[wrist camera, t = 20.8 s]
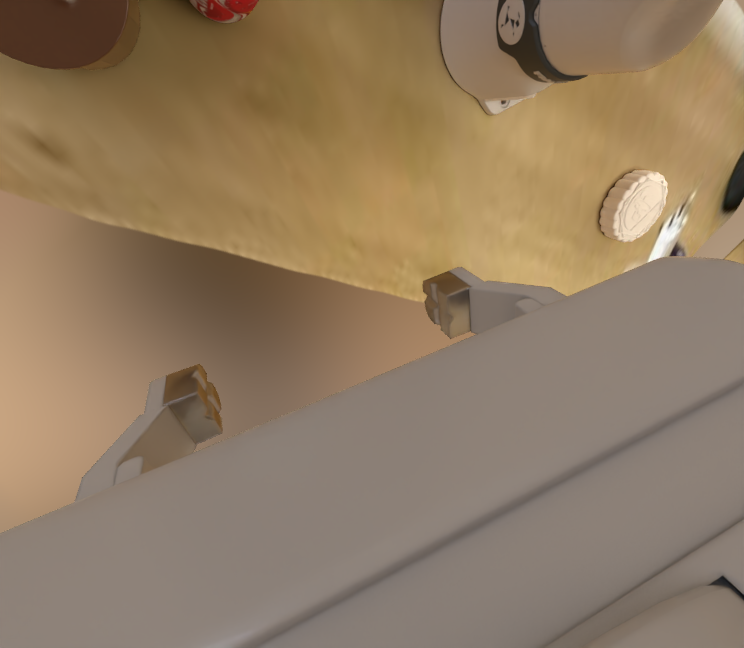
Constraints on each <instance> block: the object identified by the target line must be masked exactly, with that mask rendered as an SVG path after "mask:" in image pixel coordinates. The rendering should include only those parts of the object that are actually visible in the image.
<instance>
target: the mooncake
mask: <svg viewBox="0 0 744 648" xmlns="http://www.w3.org/2000/svg"><path fill="white" fill-rule="evenodd" d="M666 188H667V182H666V181H665V178H664V176H663V175H660V174H659V173H658V172H653V171H647V170H634V171H633V172H632V173H628V174H626V175H625V176H624V177H623V179H620V180H618V181H617V182H616V184H615V187H613V188H612V189H611V190H610V191H609V193H608V197H607V198H606V199H605V200H604V202H603V208H602V209H601V211H600V215H601V218H600V220H599V223H600V225H601V231H602V232H604V235H605V236H607V237H610V238H612V239H615V240H618V241H621V242H627V241H629V242H631V241H633V240H635V238H640V237H641V236H642V235H643V234H644V233H646V232H647V231H648V230H649V229H650V227H651V225H653V224H654V223H655V222H656V220H657V218H658V217H659V216H660V214H661V212H662V209H663V207H664V206H665V203H666V198H665V197H666V196H667V193H668V190H667V189H666Z"/></svg>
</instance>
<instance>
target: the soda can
mask: <svg viewBox="0 0 744 648" xmlns="http://www.w3.org/2000/svg"><path fill="white" fill-rule="evenodd" d="M189 1H190V2H191V3H192V5H193V6H194V7H195V8H196V9H197V10H198V11H199V12H200V13H202V14H203V15H204V16H206V17H207V18H209V19H211V20H214V21H216V22H220V23H233V22H236V21H239V20H241V19H243V18H245V17H246V16H247V15H248V14H250V12H251V11H252V10H253V8H254V7H255V6H256V4H257V2H258V1H259V0H189Z"/></svg>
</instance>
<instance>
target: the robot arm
mask: <svg viewBox="0 0 744 648" xmlns="http://www.w3.org/2000/svg"><path fill="white" fill-rule="evenodd" d="M722 1H723V0H444V4H443V9H442V15H441V26H440V35H441V46H442V52H443V56H444V60H445V63H446V66H447V68H448V70H449V72H450V74H451V76H452V77H453V79H454V80H455V82H456V83H457V84H458V85H459V86H460V87H461V88H462V89H463V90H465V91H466V92H468V93H469V94H471V95H473V96H474V97H476V98H477V99H478V101H479V103H480V104H481V106H482V108H483V109H484V111H485V112H486V113H487V114H489V115H496V114H499V113H501V112H503V111H504V110H506V109H508V108H510V107H512V106H514V105H515V104H517V103H519V102H521V101H523V100H525V99H529V98H533V97H535V95H536V93H538V92H540V91H542V90H544V89H546V88H547V87H549V86H551V85H552V84H554V83H566V82H568V81H574V80H579V79H581V78H584V77H586V76H588V75H595V74H611V73H627V72H640V71H645V70H648V69H650V68H653V67H655V66H657V65H660V64H662V63H664V62H666V61H667V60H669V59H671V58H672V57H674V56H675V55H677V54H678V53H680V52H681V51H682V50H683V49H685V48H686V47H687V46H688V45H689V44H690V43H691V42H692V41H693V40H694V39H695V38H696V37H697V36H698V35H699V34H700V33H701V31H702V30H703V29H704V27H705V26H706V25H707V24H708V22H709V21H710V19H711V18H712V17H713V15H714V14H715V12H716V11H717V9H718V8H719V6H720V4H721V3H722ZM502 100H503V102H502V103H501V101H502ZM423 292H424V293H425V294H427V295H428V296H427V298H426V300H425V307H426V311H427V314H428V316H429V318H430V319H431V321H432V322H433V323H434V324H437V325H440V326H441V330H442V331H443V332H444V333H445V334H446V335H447V336H448V337H449V338H450V339H451V338H454V337H457V336H459V335H462V334H465V333H467V332H470V331H471V332H472V333H475V334H476V335H474V336H472V337H469V338H467V339H464V340H462V341H460V342H457V343H455V344H452V345H450V346H448V347H445V348H443V349H440V350H438V351H436V352H433V353H431V354H428V355H426V356H424V357H421V358H419V359H416V360H414V361H412V362H409V363H407V364H404V365H402V366H400V367H397V368H395V369H393V370H390V371H388V372H385V373H383V374H381V375H378V376H376V377H373V378H371V379H369V380H366V381H364V382H362V383H359V384H357V385H354V386H352V387H349V388H347V389H345V390H342V391H340V392H338V393H335V394H333V395H330V396H328V397H325V398H323V399H321V400H318V401H316V402H314V403H311V404H309V405H307V406H304V407H302V408H299V409H297V410H294V411H292V412H290V413H287V414H285V415H283V416H280V417H278V418H275V419H273V420H270V421H268V422H266V423H263V424H261V425H259V426H256V427H254V428H251V429H249V430H247V431H244V432H242V433H239V434H237V435H234V436H232V437H230V438H227V439H225V440H223V441H220V442H218V443H216V444H213V445H211V446H208V447H206V448H203V449H201V450H199V451H196V452H194V450H195V448H196V445H197V444H199V443H201V442H204V441H206V440H208V439H211V438H213V437H215V436H217V435H220V434H222V432H223V429H222V418H221V417H220V415H219V412H220V410H221V403H220V399H219V396H218V393H217V391H216V389H215V387H214V386H213V384H212V383H210V382H208V381H207V373H206V372H205V370H204V369H203V367H202V366H201V365H200V364H197V365H195V366H192V367H189V368H186V369H183V370H181V371H178V372H175V373H172V374H169V375H166V376H163V377H161V378H158V379H155V380H153V381H151V382H150V384H149V389H148V395H147V400H146V406H145V411H144V414H142V415H140V416H138V418H137V419H136V420H135V421H134V422H133V423H132V424H131V425H130V426H129V427H128V428H127V429H126V431H125V432H124V433H123V434H122V435H121V436H120V437H119V438H118V439H117V440H116V441H115V442H114V444H113V445H112V446H111V447H110V448H109V449H108V450H107V451H106V452H105V453H104V454H103V456H102V457H101V458H100V459H99V460H98V461H97V462H96V463H95V464H94V465H93V466H92V468H91V469H90V470H89V471H88V472H87V473H86V474H85V475H84V476H83V477H82V480H81V484H80V486H79V490H78V493H77V496H76V499H75V502H74V503H72V504H69V505H67V506H65V507H62V508H60V509H57V510H55V511H52V512H50V513H48V514H45V515H43V516H40V517H38V518H36V519H33V520H31V521H28V522H26V523H24V524H21V525H19V526H17V527H14V528H12V529H9V530H7V531H5V532H2V533H0V648H744V264H741V263H737V262H734V261H729V260H723V259H714V258H701V257H682V256H673V257H662V258H659V259H656V260H653V261H651V262H648V263H646V264H644V265H642V266H639V267H637V268H634V269H632V270H630V271H627V272H625V273H622V274H620V275H618V276H615V277H613V278H610V279H608V280H606V281H603V282H601V283H599V284H596V285H594V286H591V287H589V288H587V289H584V290H582V291H579V292H577V293H575V294H572V295H570V296H565V295H563V294H562V293H560V292H558V291H556V290H554V289H552V288H551V287H542V286H533V285H524V284H514V283H505V282H496V281H486V282H484V281H483V280H481V279H480V278H478V277H476V276H475V275H473V274H472V273H470V272H469V271H467V270H465V269H464V268H462V267H457V268H454V269H452V270H450V271H447V272H445V273H442V274H440V275H437V276H435V277H432V278H430V279H427V280H425V281H423ZM193 452H194V453H193Z"/></svg>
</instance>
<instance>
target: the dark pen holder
mask: <svg viewBox="0 0 744 648" xmlns="http://www.w3.org/2000/svg"><path fill="white" fill-rule="evenodd" d="M139 32H140V10H139V2H138V0H130V9H129V18H128V22H127V25H126V29H125V31H124V34H123V36H122V38H121V40H120V41H119V43H118V44H117V46H116V47H115V48H114V49H113V50H112V52H111V53H110V54H109V55H107V56H106V57H105V58H103V59H102V60H100V61H98V62H96V63H94V64H92V65H90V66H86V67H83V68H82V69H87V70H98V69H106V68H109V67H113V66H115V65H117V64H119V63H120V62H122V61H123V60H125V59H126V58H127V57H128V56H129V55H130V53H131V52H132V51H133V49H134V47H135V45H136V43H137V40H138V37H139Z"/></svg>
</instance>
